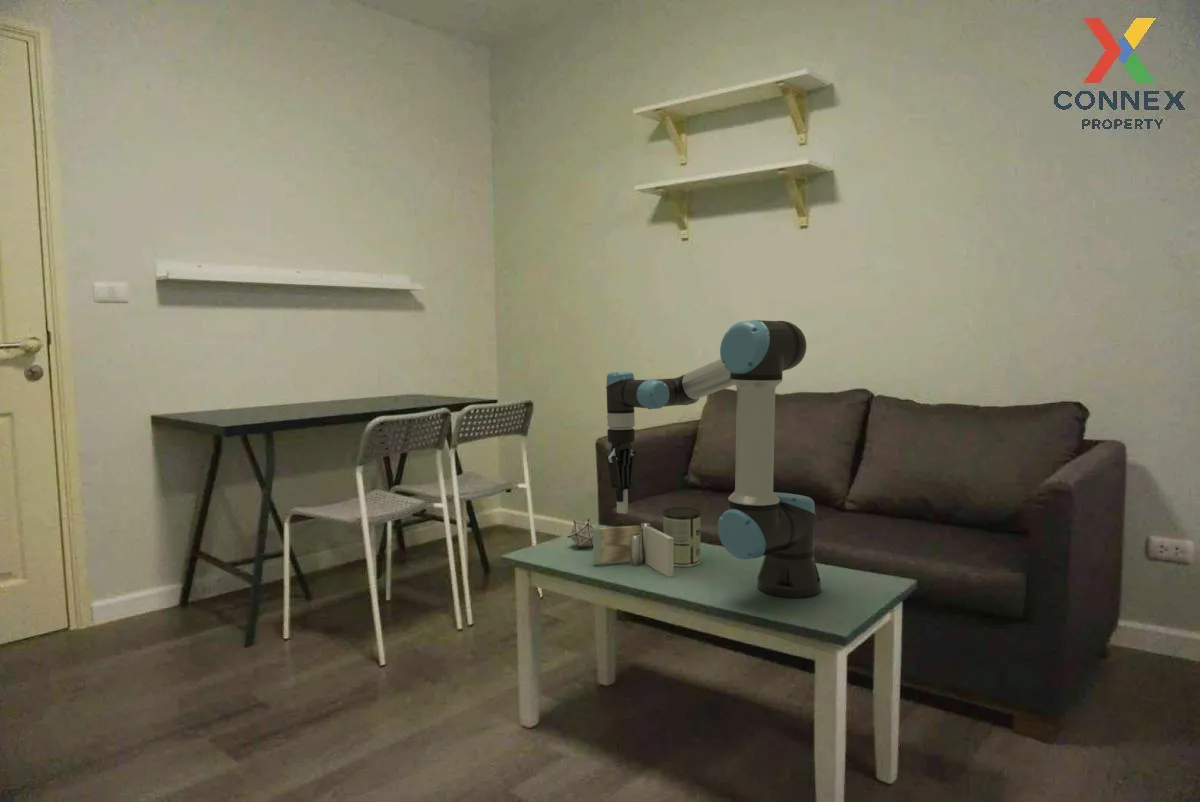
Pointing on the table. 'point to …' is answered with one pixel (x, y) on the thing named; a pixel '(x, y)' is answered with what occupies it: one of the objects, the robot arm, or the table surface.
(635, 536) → the peg
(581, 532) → the game die
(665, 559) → the light grey flat panel
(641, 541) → the gate post
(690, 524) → the coffee can
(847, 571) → the table surface
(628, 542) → the gate
